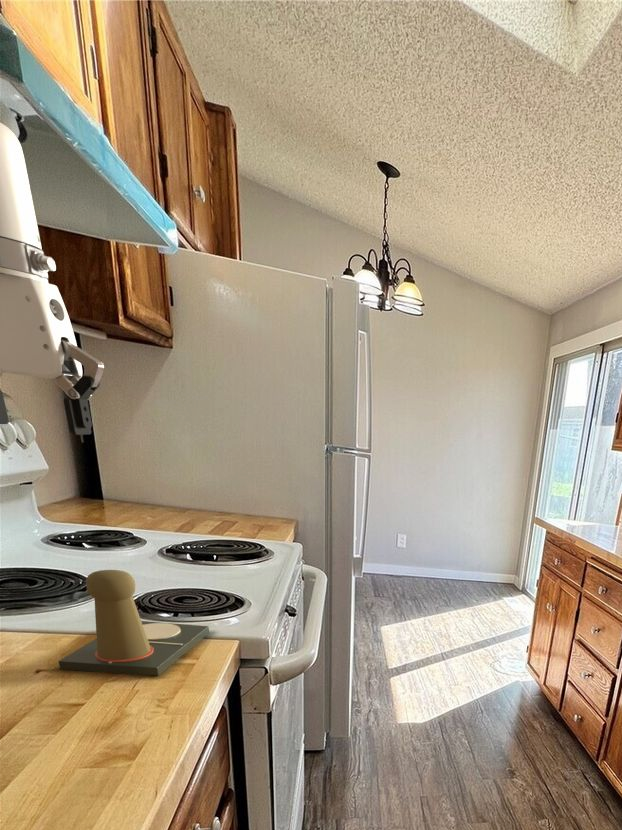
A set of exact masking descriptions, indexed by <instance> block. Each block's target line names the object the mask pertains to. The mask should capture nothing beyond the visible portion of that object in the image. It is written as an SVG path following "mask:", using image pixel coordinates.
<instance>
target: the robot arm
mask: <svg viewBox="0 0 622 830" xmlns="http://www.w3.org/2000/svg"><path fill="white" fill-rule="evenodd" d="M40 237H41V236H40V231H39V227H38V221H37V217H36V212H35V206H34V200H33V196H32V191H31V186H30V180H29V176H28V171H27V165H26V160H25V155H24V152H23V148H22V145H21V142H20V141H19V138H18V137H17V136H16V134H15V133H14V132H13V131H12V130H11V129H10V128H9V127H8V126H7V125H5V124H4V123H2V122H0V378H1V377H2V376H3V374H10V375H17V376H24V377H25V376H26V377H33V378H39V379H51V380H53V381H54V383H56V385H58V387H59V388H60V389H61V390H62V391H64V393H65V394H66V395H67V397H64V398H63V405H64V410H65V416H66V420H67V426H68V431H69V432H70V433H71V434H72V435H75V436H76V435H77V436H81V435H83V436H85V435H91V434H92V426H93V423H92V417H91V412H90V406H89V401H90V400H92V397H93V394H95V392H96V391H97V389H98V388H100V385H101V383H100V381H101V379H102V376H103V373H104V371H105V364H104V363H103V362H102V361H101V360H99V359H98V358H96V357H95V356H93V355H91V354H90V353H88V352H87V351H85V350H84V349H82V348H81V347H78V345H77V344H78V343H77V340H76V336H75V333H74V329H73V326H72V323H71V320H70V317H69V314H68V311H67V308H66V306H65V303H64V300H63V297H62V295H61V293H60V291H59V287H58V286H57V285H55V284H52V283H49V274H48V272H55V271H56V270H57V265H56V262H55V260H54V259H53V257H52V256H47V255H46V254H45V252H44V250H43V249H42V243H41V238H40ZM82 366H83V367H82ZM83 368H84V371H83ZM9 423H10V419H9V414H8V410H7V405H6V402H5V397H4V394H3V391H2V389H1V388H0V425H9Z"/></svg>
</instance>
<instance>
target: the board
mask: <svg viewBox="0 0 622 830" xmlns="http://www.w3.org/2000/svg"><path fill="white" fill-rule="evenodd" d="M141 622H142V625H143V628H144V631H145V633H146V636H147V639H148V642H149V645H150V649H151V650H150V651H149V652H148V653H147V654H145V655H143V656H140V657H137V658H132V659H125V660H109V659H104V658H101V657H99V656H98V655H97V637H96V638H94V639H93V640H91V641H89V642H88V643H86V644H84V645H82V646H81V647H79V648H78V649H75V650H74V651H73V652H71V653H70V654H67V655H66V656H64V657H62V658H60V659H59V660H58V662H57V663H58V667H59V669H60V670H66V671H79V672H94V673H109V674H121V675H122V674H123V675H125V674H126V675H139V676H152V677H159V676H160V675H162V674H163V673H164V672H165V671H166V670H168V669H169V668H170V667H171V666H172V665H173V664H175V663H176V662H177V661H178V660H179V659H181V658H183V656H184V655H186V654H187V653H188V652H189V651H190V650H191V649H193V648H194V647H195V646H196V645H197V644H198V643H200V642H201V641H202V640H203V639H204V638H206V637H207V636H208V635H209V634H210V627H209V626H208V625H197V624H185V623H173V622H172V623H171V622H158V621H147V620H146V621H145V620H141Z"/></svg>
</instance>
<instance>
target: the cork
mask: <svg viewBox="0 0 622 830" xmlns="http://www.w3.org/2000/svg"><path fill="white" fill-rule="evenodd" d="M85 587H86V591H87V593H88V594H89V595H90V596H91V597H92V598H94V616H95V634H96V636H95V637H96V638H97V655H98V656H99V657H101V658H104V659H109V660H125V659H132V658H137V657H140V656H143V655H145V654H147V653H148V652H149V651H150V650H151V649H150V645H149V642H148V639H147V636H146V633H145V631H144V628H143V625H142V622H141V621H142V619H141V617H140V614H139V611H138V608H137V605H136V602H135V599H134V596H133V595H134V594H135V592H136V581H135V579H134V577H133V576H132V575H131V574H130V573H129V572H127V571H124V570H122V569H121V570H120V569H103V570H101V569H100V570H96V571H93V572H92V573H90V574H88V575H87V577H86V579H85Z"/></svg>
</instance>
